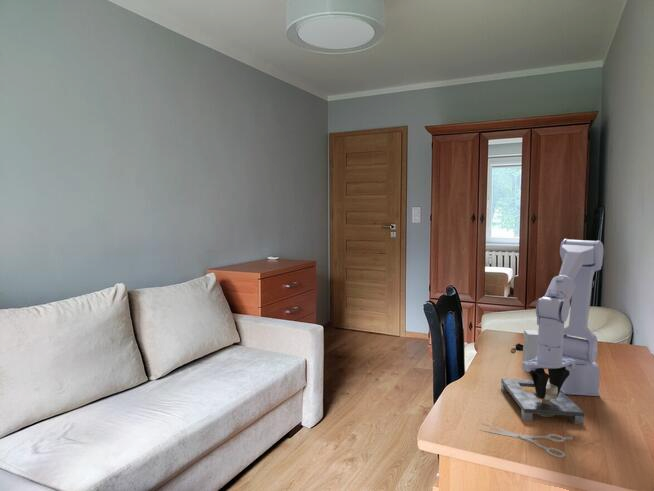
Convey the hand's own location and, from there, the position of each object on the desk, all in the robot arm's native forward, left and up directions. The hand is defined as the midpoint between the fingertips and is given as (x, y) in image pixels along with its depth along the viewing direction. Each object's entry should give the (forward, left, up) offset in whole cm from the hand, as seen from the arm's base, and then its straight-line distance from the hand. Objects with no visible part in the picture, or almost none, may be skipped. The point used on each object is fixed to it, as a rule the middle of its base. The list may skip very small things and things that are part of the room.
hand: (547, 396), depth 113 cm
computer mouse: (-12, -48, -5) cm, 50 cm away
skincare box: (-8, -35, -5) cm, 37 cm away
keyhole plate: (0, -5, -5) cm, 7 cm away
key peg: (0, 0, -5) cm, 5 cm away
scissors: (+10, +13, -5) cm, 17 cm away
